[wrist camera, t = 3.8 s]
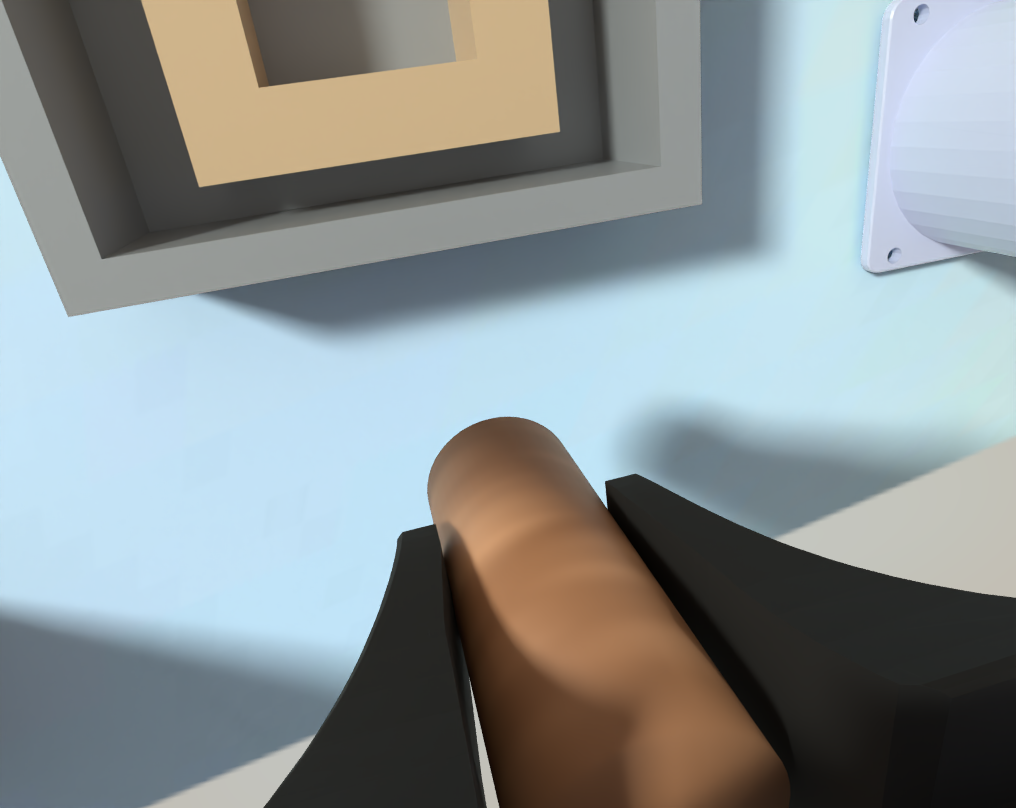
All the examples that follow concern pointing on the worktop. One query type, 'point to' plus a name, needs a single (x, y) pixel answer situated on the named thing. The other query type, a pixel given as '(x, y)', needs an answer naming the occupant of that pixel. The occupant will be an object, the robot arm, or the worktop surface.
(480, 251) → the worktop surface
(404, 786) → the robot arm
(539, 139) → the tray
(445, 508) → the peg
